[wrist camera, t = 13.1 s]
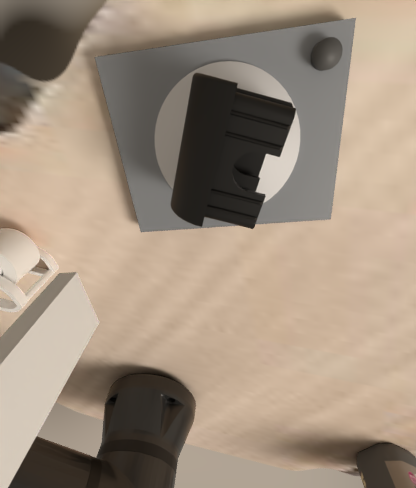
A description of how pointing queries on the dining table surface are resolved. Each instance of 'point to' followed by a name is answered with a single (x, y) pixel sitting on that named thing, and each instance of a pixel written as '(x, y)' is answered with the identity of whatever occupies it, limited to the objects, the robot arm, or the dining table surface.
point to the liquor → (387, 467)
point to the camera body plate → (248, 78)
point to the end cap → (226, 151)
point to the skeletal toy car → (21, 267)
